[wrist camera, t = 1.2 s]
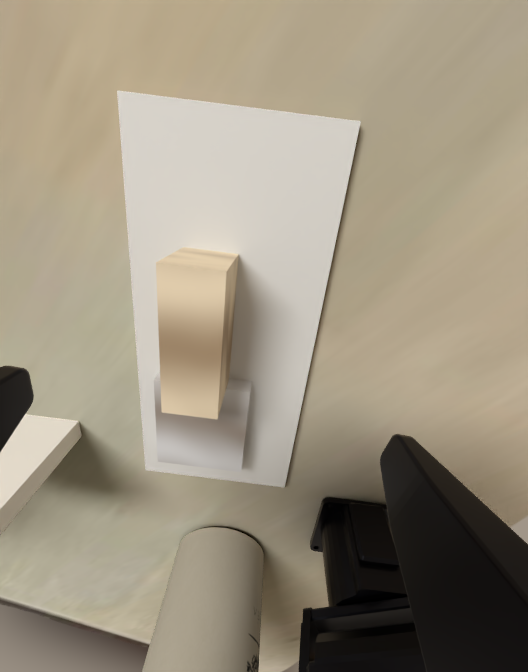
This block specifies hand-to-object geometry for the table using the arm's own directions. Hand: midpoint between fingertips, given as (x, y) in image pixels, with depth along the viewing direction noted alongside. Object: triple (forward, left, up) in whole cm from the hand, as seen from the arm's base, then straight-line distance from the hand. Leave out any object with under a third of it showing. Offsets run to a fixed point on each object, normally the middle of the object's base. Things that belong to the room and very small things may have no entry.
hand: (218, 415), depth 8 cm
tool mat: (-4, +2, -11) cm, 12 cm away
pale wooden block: (-6, +3, -11) cm, 12 cm away
